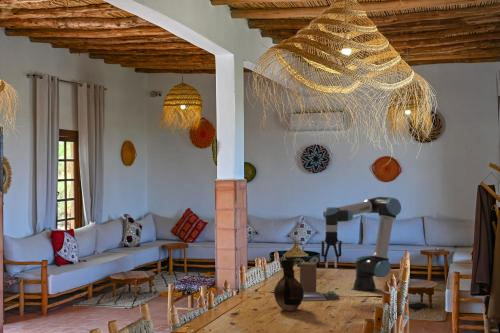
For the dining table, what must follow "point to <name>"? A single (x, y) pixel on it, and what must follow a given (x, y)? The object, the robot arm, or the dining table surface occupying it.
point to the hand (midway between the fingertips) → (331, 267)
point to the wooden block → (308, 276)
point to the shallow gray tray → (313, 296)
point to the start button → (330, 292)
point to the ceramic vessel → (288, 288)
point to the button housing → (331, 296)
